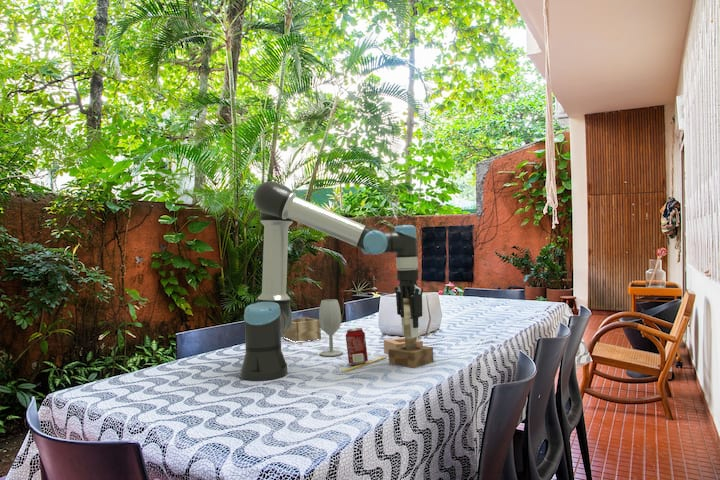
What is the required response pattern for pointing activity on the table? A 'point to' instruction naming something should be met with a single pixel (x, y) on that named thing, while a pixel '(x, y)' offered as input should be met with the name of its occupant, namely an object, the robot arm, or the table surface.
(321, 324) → the wineglass
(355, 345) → the soda can
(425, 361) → the brown holed block
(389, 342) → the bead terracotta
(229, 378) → the table surface
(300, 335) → the fruit crate
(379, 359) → the thin yellow stick
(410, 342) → the beige banded cylinder
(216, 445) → the table surface
